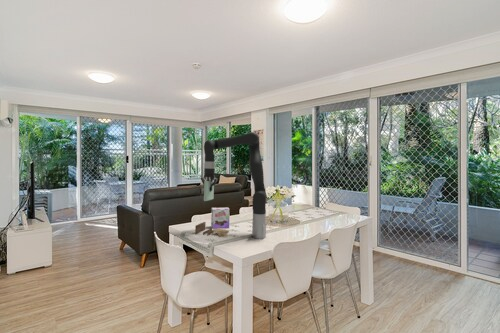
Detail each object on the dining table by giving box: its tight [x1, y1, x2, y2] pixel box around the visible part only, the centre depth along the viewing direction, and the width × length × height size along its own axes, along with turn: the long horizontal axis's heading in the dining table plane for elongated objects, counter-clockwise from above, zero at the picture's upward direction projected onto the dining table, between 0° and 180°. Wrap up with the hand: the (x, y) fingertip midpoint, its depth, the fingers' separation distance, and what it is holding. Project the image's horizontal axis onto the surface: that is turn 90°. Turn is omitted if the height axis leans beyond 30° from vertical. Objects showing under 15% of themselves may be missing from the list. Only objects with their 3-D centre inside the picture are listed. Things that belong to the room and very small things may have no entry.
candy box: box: [210, 207, 231, 230], centre depth 219 cm, size 14×6×16 cm, turn 101°
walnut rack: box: [194, 221, 215, 236], centre depth 204 cm, size 10×12×7 cm
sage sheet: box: [203, 180, 215, 202], centre depth 206 cm, size 2×11×14 cm, turn 160°
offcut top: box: [212, 228, 230, 235], centre depth 200 cm, size 5×10×2 cm, turn 60°
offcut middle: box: [216, 233, 228, 238], centre depth 200 cm, size 5×10×2 cm, turn 19°
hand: (209, 191), depth 206 cm, fingers closed on sage sheet, 2 cm apart
